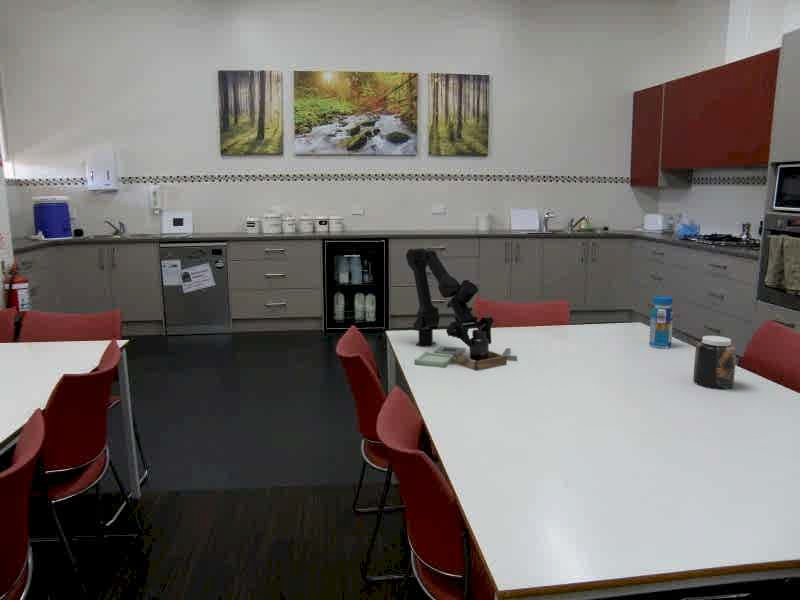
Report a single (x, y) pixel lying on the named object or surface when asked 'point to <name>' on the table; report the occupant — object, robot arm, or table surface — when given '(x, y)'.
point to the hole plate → (453, 350)
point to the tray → (434, 359)
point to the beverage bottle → (661, 322)
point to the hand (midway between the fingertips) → (480, 345)
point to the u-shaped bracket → (482, 361)
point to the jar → (715, 362)
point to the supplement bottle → (479, 345)
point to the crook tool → (509, 357)
